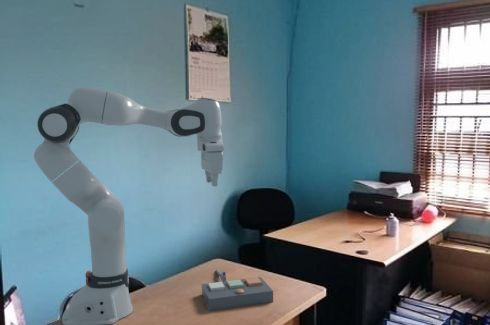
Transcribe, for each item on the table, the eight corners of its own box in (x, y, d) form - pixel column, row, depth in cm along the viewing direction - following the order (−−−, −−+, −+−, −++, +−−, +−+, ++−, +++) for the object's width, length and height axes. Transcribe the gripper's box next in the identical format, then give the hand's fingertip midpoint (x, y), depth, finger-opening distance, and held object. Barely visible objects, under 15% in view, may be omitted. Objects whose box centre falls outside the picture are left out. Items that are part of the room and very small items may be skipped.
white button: (211, 296, 150) (211, 288, 149) (208, 291, 155) (208, 283, 154) (224, 294, 151) (224, 286, 151) (221, 289, 156) (221, 281, 156)
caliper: (226, 289, 162) (226, 273, 161) (223, 289, 162) (223, 273, 161) (218, 271, 182) (217, 257, 181) (215, 271, 182) (215, 257, 181)
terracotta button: (248, 291, 154) (248, 283, 153) (245, 286, 158) (245, 278, 158) (262, 290, 155) (261, 282, 155) (257, 285, 160) (257, 277, 159)
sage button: (230, 294, 152) (230, 286, 151) (227, 288, 156) (226, 281, 156) (243, 292, 153) (243, 284, 153) (240, 287, 158) (239, 279, 157)
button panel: (209, 310, 143) (209, 297, 143) (202, 294, 157) (201, 282, 156) (273, 301, 149) (273, 289, 149) (260, 287, 163) (260, 275, 162)
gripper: (196, 144, 156) (198, 180, 158) (206, 147, 137) (208, 189, 138) (213, 143, 158) (214, 179, 160) (225, 146, 139) (227, 187, 140)
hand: (211, 184), depth 149 cm, fingers open, 8 cm apart
